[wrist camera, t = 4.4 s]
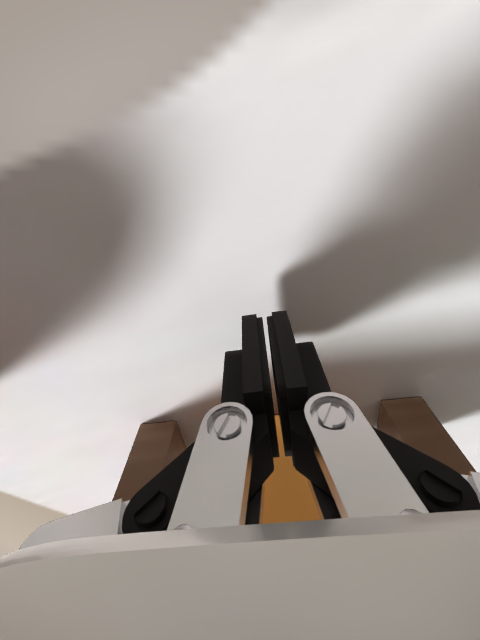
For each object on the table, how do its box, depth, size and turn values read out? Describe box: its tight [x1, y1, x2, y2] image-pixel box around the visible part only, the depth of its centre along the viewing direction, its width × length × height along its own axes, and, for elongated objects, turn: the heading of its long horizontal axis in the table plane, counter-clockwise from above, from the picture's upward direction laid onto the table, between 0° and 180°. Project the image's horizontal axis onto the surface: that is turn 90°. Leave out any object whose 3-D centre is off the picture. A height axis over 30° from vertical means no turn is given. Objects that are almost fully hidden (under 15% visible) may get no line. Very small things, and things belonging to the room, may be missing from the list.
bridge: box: [112, 397, 476, 502], centre depth 12 cm, size 3×15×10 cm, turn 98°
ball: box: [262, 415, 321, 524], centre depth 13 cm, size 6×6×6 cm
